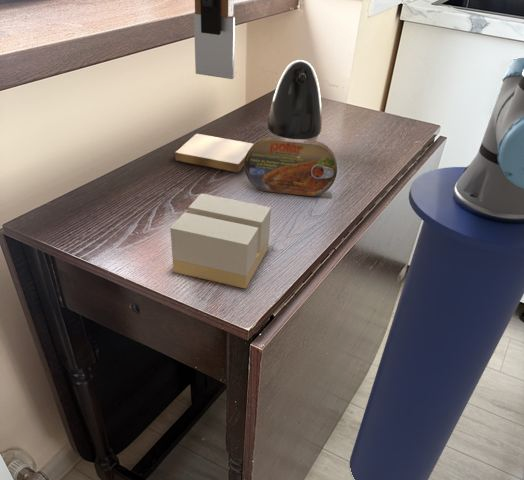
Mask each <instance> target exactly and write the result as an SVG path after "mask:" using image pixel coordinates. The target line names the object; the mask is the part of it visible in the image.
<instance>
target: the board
mask: <svg viewBox="0 0 524 480" xmlns="http://www.w3.org/2000/svg"><path fill="white" fill-rule="evenodd" d="M253 144H254V143H252V142H246V141H241V140H235V139H230V138H223V137H217V136H212V135H209V134H208V135H207V134H201V133H195V134H194V135H193V136H192V137H191V138H190V139H188V140H187V141H186V142H185V143H184V144H183V145H182V146H181V147H180V148H179V149H178V150H176V151H175V152H174V155H175V157H174V158H175V161H176V162H182V163H187V164H192V165H198V166H202V167H203V166H204V167H209V168H213V169H217V170H224V171H229V172H235V173H240V171H241V170H242V169H243V168H244V161H245V157H246V154H247V152H248V151H249V149H250V148H251V147H252V145H253Z"/></svg>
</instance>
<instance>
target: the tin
mask: <svg viewBox="0 0 524 480" xmlns="http://www.w3.org/2000/svg"><path fill="white" fill-rule="evenodd" d="M252 144H253V145H252V147H251V148H250V149H249V151H248V152H247V154H246V157H245V161H244V166H243V168H244V173H245V175H246V178H247V180H248V181H249V182H250V184H251V185H252V186H254V187H255V188H256V189H258V190H260V191H263V192H265V193H266V192H268V193H277V194H285V195H295V196H305V197H318V196H319V195H322V194H324V193H326V192H327V191H328V190H330V189H331V187H332V186H333V184H334V183H335V181H336V178H337V174H338V166H337V165H338V164H337V160H336V157H335V154H334V151H332V149H331V148H330V147H329V146H328V145H326V144H325V143H323V142H320V141H318V140H316V141H308V140H298V139H287V138H278V137H271V136H265V137H263V138H260V139H258V140H257V141H255V142H254V143H252Z"/></svg>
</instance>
